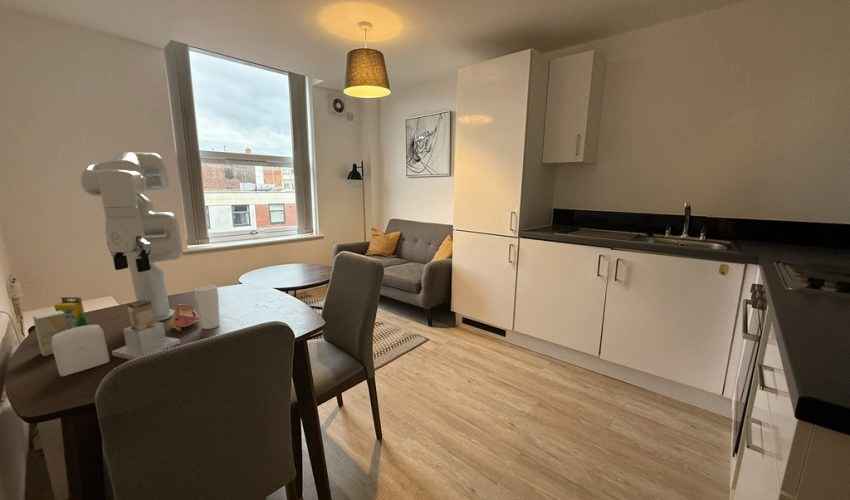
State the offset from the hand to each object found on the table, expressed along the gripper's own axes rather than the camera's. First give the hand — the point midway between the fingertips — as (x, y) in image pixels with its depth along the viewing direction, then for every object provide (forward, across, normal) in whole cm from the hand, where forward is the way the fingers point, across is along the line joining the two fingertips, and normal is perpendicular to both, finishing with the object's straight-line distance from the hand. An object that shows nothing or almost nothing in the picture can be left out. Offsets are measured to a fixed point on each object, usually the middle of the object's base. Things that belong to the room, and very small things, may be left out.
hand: (133, 270), depth 100 cm
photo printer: (+26, -6, -13) cm, 30 cm away
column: (+24, 0, 0) cm, 24 cm away
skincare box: (+26, -27, -9) cm, 39 cm away
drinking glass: (+26, +4, +19) cm, 33 cm away
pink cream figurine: (+26, -5, +17) cm, 32 cm away
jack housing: (+26, 0, 0) cm, 26 cm away
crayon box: (+26, -43, +3) cm, 51 cm away
